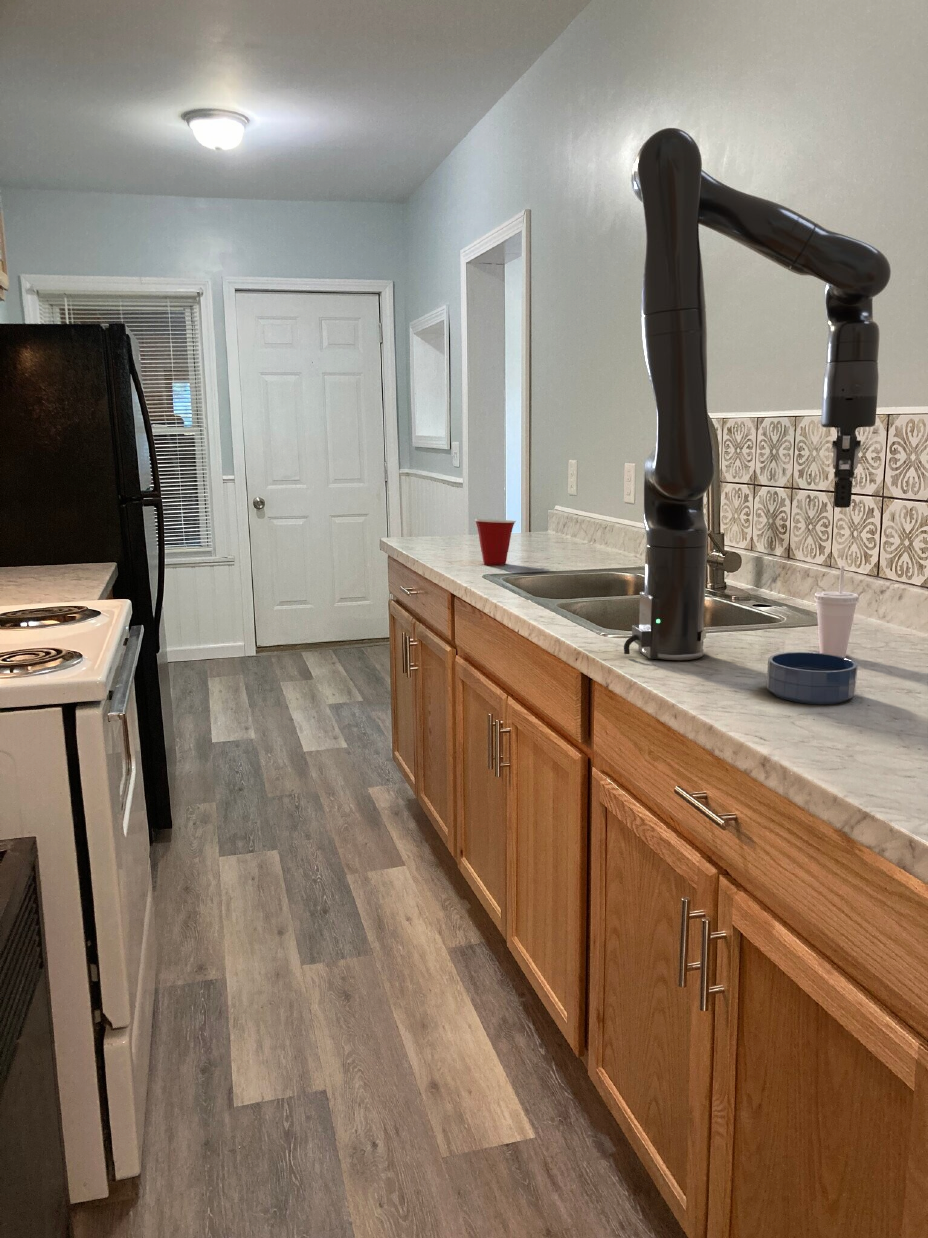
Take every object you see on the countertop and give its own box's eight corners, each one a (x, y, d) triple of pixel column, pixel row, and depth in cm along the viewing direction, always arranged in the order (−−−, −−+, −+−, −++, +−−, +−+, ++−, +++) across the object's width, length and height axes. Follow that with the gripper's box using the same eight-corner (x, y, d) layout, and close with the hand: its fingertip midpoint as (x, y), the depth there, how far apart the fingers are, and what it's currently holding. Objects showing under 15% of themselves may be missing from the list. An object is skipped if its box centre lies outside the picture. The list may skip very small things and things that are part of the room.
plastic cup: (524, 563, 253) (524, 517, 251) (499, 568, 245) (499, 521, 243) (491, 560, 260) (490, 515, 258) (466, 564, 252) (466, 518, 249)
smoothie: (858, 661, 146) (865, 569, 143) (813, 659, 147) (819, 568, 144) (850, 652, 152) (856, 563, 149) (807, 650, 153) (813, 562, 150)
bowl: (790, 708, 122) (792, 673, 121) (752, 685, 133) (754, 653, 132) (871, 704, 123) (874, 669, 122) (828, 682, 134) (830, 650, 133)
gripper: (824, 396, 149) (818, 501, 153) (820, 393, 137) (814, 508, 140) (876, 395, 147) (869, 502, 150) (878, 392, 134) (870, 509, 137)
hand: (842, 505), depth 145 cm, fingers open, 8 cm apart
